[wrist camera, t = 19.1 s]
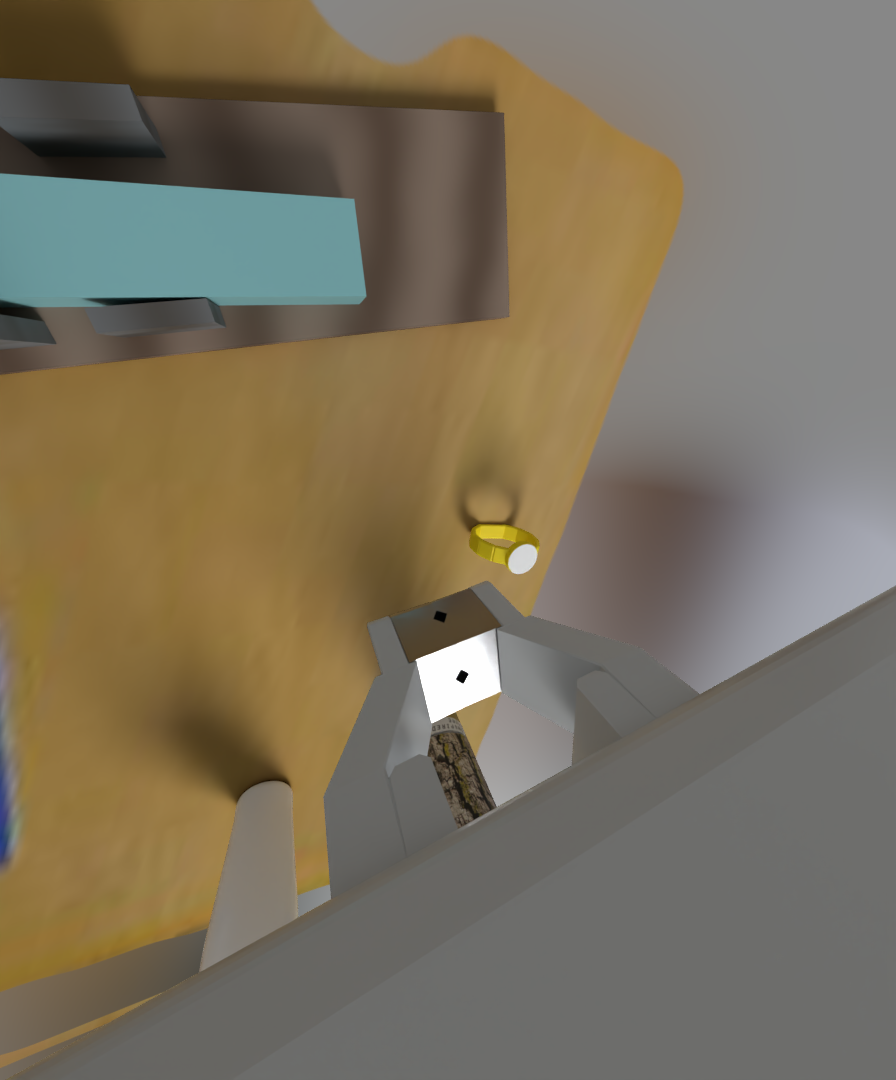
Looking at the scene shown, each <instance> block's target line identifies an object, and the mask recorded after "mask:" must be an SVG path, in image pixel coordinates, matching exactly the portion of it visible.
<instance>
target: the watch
mask: <svg viewBox="0 0 896 1080" xmlns="http://www.w3.org/2000/svg"><path fill="white" fill-rule="evenodd" d="M481 538H503V539H506V540H510V541H514V542H516V543H514V544H513V545H511V546H510V547H509V548H505V547H501V546H495V545H494V544H491V543H489V542H487V541H484V540H482V539H481ZM469 547H470V548H471V549H472V550H473V551H474V552H475V553H476V554H477V555H479V556H481V557H483V558H485V559H487V560H489V561H492V562H496V563H501V564H505V566H506V567H507V568H508V569H509V570H510V571H511V572H513V573H515V574H522V573H525V572H527V571H528V570H529V569H531V568H532V566H533V565H534V564H535V562H536V559H537V554H538V550H539V540H538V539H537V538H536V537H535V536H534V535H532V534H531V533H529V532H527V531H525V530H523V529H520V528H517V527H514V526H510V525H505V524H503V525H492V524H478V525H476V526H475V527H473V528H472V529H471V535H470V540H469Z"/></svg>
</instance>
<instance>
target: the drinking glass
mask: <svg viewBox="0 0 896 1080" xmlns="http://www.w3.org/2000/svg"><path fill="white" fill-rule="evenodd" d="M296 918H298V902H297V883H296V866H295V849H294V830H293V792H292V789H291V787H290V786H289V785H288V784H286V783H284V782H281V781H266V782H262V783H259V784H257V785H254V786H252V787H251V788H249V789H248V790H246V791H245V792H244V793H243V794H242V795H241V797H240V798H239V800H238V802H237V805H236V811H235V817H234V823H233V827H232V832H231V836H230V840H229V844H228V848H227V853H226V857H225V861H224V865H223V869H222V873H221V878H220V882H219V886H218V890H217V894H216V898H215V902H214V906H213V910H212V914H211V918H210V922H209V927H208V931H207V935H206V940H205V945H204V949H203V954H202V959H201V964H200V970H199V972H201V971H203V970H205V969H206V968H208V967H210V966H212V965H214V964H215V963H217V962H219V961H221V960H223V959H224V958H226V957H228V956H230V955H232V954H233V953H235V952H237V951H239V950H241V949H242V948H244V947H246V946H248V945H250V944H251V943H253V942H255V941H257V940H259V939H260V938H262V937H264V936H266V935H268V934H269V933H271V932H273V931H275V930H277V929H278V928H280V927H282V926H284V925H286V924H287V923H289V922H291V921H293V920H295V919H296Z"/></svg>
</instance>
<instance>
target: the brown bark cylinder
mask: <svg viewBox="0 0 896 1080" xmlns="http://www.w3.org/2000/svg"><path fill="white" fill-rule="evenodd" d="M427 756H428V757H431V759H432V762H433V765H434V767H435V770H436V773H437V775H438V778H439V780H440V783H441V786H442V788H443V791H444V794H445V796H446V799H447V802H448V804H449V807H450V809H451V812H452V815H453V817H454V820H455V823H456V825H457V828H460V827H462V826H464V825H466V824H467V823H469V822H471V821H473V820H475V819H476V818H478V817H480V816H482V815H484V814H485V813H487V812H489V811H491V810H493V809H494V808H496V804H495V802H494V800H493V798H492V795H491V793H490V790H489V788H488V786H487V783H486V781H485V779H484V777H483V774H482V772H481V769H480V767H479V765H478V763H477V760H476V758H475V756H474V753H473V751H472V749H471V746H470V744H469V742H468V739H467V737H466V735H465V732H464V730H463V728H462V725H461V724H460V721H459V719H458V717H457V714H456V712H453V713H451V714H449V715H447V716H445V717H443V718H441V719H439V720H437V721H435V722H433V723H432V730H431V736H430V742H429V749H428V755H427Z"/></svg>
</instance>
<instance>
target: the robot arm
mask: <svg viewBox="0 0 896 1080" xmlns="http://www.w3.org/2000/svg"><path fill="white" fill-rule="evenodd" d="M367 628H368V631H369V634H370V637H371V641H372V644H373V647H374V651H375V654H376V657H377V660H378V664H379V667H380V670H381V673H382V675H380V676H377V677H375V679H374V681H373V683H372V686H371V688H370V690H369V693H368V695H367V697H366V700H365V702H364V704H363V707H362V709H361V711H360V713H359V716H358V718H357V720H356V723H355V725H354V727H353V730H352V732H351V734H350V737H349V739H348V741H347V744H346V746H345V748H344V751H343V753H342V755H341V758H340V760H339V762H338V764H337V767H336V769H335V771H334V774H333V776H332V778H331V781H330V783H329V785H328V788H327V790H326V792H325V795H324V809H325V822H326V836H327V849H328V863H329V877H330V890H331V900H329V901H327V902H325V903H323V904H322V905H320V906H318V907H316V908H314V909H313V910H311V911H309V912H307V913H305V914H304V915H302V916H300V917H298V918H296V919H295V920H293V921H291V922H289V923H287V924H286V925H284V926H282V927H280V928H278V929H277V930H275V931H273V932H271V933H269V934H268V935H266V936H264V937H262V938H260V939H259V940H257V941H255V942H253V943H251V944H250V945H248V946H246V947H244V948H242V949H241V950H239V951H237V952H235V953H233V954H232V955H230V956H228V957H226V958H224V959H223V960H221V961H219V962H217V963H215V964H214V965H212V966H210V967H208V968H206V969H205V970H203V971H201V972H199V973H197V974H196V975H194V976H192V977H190V978H189V979H187V980H185V981H183V982H181V983H179V984H178V985H176V986H174V987H172V988H170V989H169V990H167V991H165V992H163V993H161V994H160V995H158V996H156V997H154V998H152V999H151V1000H149V1001H147V1002H145V1003H143V1004H142V1005H140V1006H138V1007H136V1008H134V1009H133V1010H131V1011H129V1012H127V1013H125V1014H124V1015H122V1016H120V1017H118V1018H116V1019H115V1020H113V1021H111V1022H109V1023H107V1024H106V1025H104V1026H102V1027H100V1028H98V1029H97V1030H95V1031H93V1032H91V1033H89V1034H88V1035H86V1036H84V1037H82V1038H80V1039H79V1040H77V1041H75V1042H73V1043H71V1044H70V1045H68V1046H66V1047H64V1048H62V1049H61V1050H59V1051H57V1052H55V1053H53V1054H52V1055H50V1056H48V1057H46V1058H44V1059H43V1060H41V1061H39V1062H37V1063H35V1064H34V1065H32V1066H30V1067H28V1068H26V1069H25V1070H23V1071H21V1072H19V1073H17V1074H16V1075H14V1076H12V1077H10V1078H8V1079H7V1080H896V586H894V587H892V588H890V589H889V590H887V591H885V592H883V593H882V594H880V595H878V596H876V597H874V598H873V599H871V600H869V601H867V602H865V603H864V604H862V605H860V606H858V607H856V608H855V609H853V610H851V611H850V612H847V613H846V614H844V615H842V616H840V617H838V618H837V619H835V620H833V621H831V622H829V623H828V624H826V625H824V626H822V627H820V628H819V629H817V630H815V631H813V632H811V633H810V634H808V635H806V636H804V637H803V638H801V639H799V640H797V641H795V642H793V643H792V644H790V645H788V646H786V647H785V648H783V649H781V650H779V651H777V652H775V653H774V654H772V655H770V656H768V657H766V658H765V659H763V660H761V661H759V662H757V663H756V664H754V665H752V666H750V667H748V668H747V669H745V670H743V671H741V672H739V673H738V674H736V675H734V676H732V677H731V678H729V679H727V680H725V681H724V682H721V683H720V684H718V685H716V686H714V687H712V688H711V689H709V690H707V691H705V692H703V693H702V694H699V693H698V692H696V691H695V690H694V689H693V688H691V687H690V686H689V685H687V684H686V683H685V682H684V681H682V680H681V679H680V678H678V677H677V676H676V675H675V674H673V673H672V672H671V671H670V670H668V669H667V668H666V667H664V666H663V665H662V664H660V663H659V662H658V661H657V660H655V659H654V658H653V657H652V656H650V655H649V654H648V653H647V652H645V651H644V650H643V649H641V648H640V647H637V646H633V645H630V644H626V643H623V642H619V641H616V640H612V639H609V638H605V637H602V636H599V635H596V634H592V633H589V632H585V631H582V630H578V629H575V628H571V627H568V626H565V625H561V624H557V623H554V622H551V621H547V620H544V619H541V618H537V617H534V616H528V617H524V616H523V615H522V614H521V613H520V612H519V611H518V610H517V609H516V608H515V607H514V606H513V605H512V604H511V603H510V602H509V601H508V600H507V599H506V598H505V597H504V596H503V595H502V594H501V593H500V592H499V591H498V590H497V589H496V588H495V587H494V586H493V585H492V584H491V583H490V582H489V581H484V582H482V583H479V584H476V585H474V586H471V587H469V588H468V589H465V590H462V591H460V592H457V593H454V594H451V595H449V596H446V597H443V598H440V599H437V600H435V601H432V602H428V603H425V604H422V605H419V606H416V607H413V608H410V609H407V610H404V611H401V612H398V613H395V614H392V615H389V616H386V617H383V618H380V619H377V620H375V621H372V622H369V623H367ZM501 691H502V693H503V694H505V695H507V696H508V697H510V698H512V699H514V700H516V701H517V702H519V703H521V704H522V705H524V706H526V707H527V708H529V709H531V710H533V711H535V712H536V713H538V714H540V715H541V716H543V717H545V718H547V719H549V720H550V721H552V722H554V723H555V724H557V725H559V726H561V727H562V728H564V729H566V730H568V731H569V732H571V733H573V734H574V737H573V738H574V739H573V754H572V766H570V767H568V768H566V769H564V770H563V771H561V772H559V773H557V774H556V775H554V776H552V777H550V778H548V779H547V780H545V781H543V782H541V783H539V784H538V785H536V786H534V787H532V788H530V789H529V790H527V791H525V792H523V793H522V794H520V795H518V796H516V797H514V798H513V799H511V800H509V801H507V802H505V803H504V804H502V805H500V806H498V807H496V808H494V809H493V810H491V811H489V812H487V813H485V814H484V815H482V816H480V817H478V818H476V819H475V820H473V821H471V822H469V823H467V824H466V825H464V826H462V827H460V828H457V825H456V823H455V820H454V817H453V815H452V812H451V809H450V807H449V804H448V802H447V799H446V796H445V794H444V791H443V788H442V786H441V783H440V780H439V778H438V775H437V773H436V770H435V767H434V765H433V762H432V759H431V757H428V756H427V755H428V749H429V742H430V736H431V730H432V723H433V722H435V721H437V720H439V719H441V718H443V717H445V716H447V715H449V714H451V713H453V712H455V711H457V710H459V709H461V708H463V707H465V706H468V705H470V704H472V703H475V702H477V701H480V700H482V699H484V698H487V697H489V696H491V695H494V694H496V693H499V692H501Z"/></svg>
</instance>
